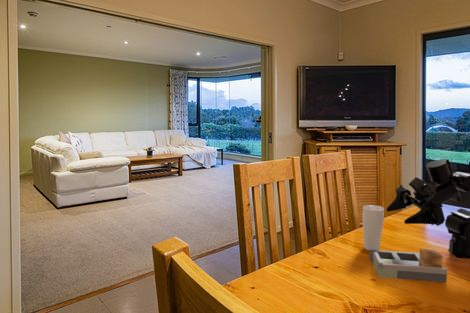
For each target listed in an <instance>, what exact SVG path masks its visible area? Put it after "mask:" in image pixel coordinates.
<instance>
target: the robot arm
mask: <svg viewBox="0 0 470 313" xmlns="http://www.w3.org/2000/svg"><path fill="white" fill-rule="evenodd" d="M425 167H426V169H427V172H428V175H429V178H430V181H431V182H427V181H425V180H424V179H421V178H419V177H417V176H416V177H414V178H413V179H412V180H411V181H410V182H409V183H408V186H409V187H411V188H412V189H413V190H414V191H413V192H412V193H413V195H414V196H412V193H411V190H409V189H408V188H405V187H403V186H399V187H397V188H395V194H396V197H395V198H394V200H392V202H391V203H390V204H389V206H387V207H386V212H388V213H389V212H395V211H399V210H403V209H407V207H410V206H412V205H413V206H415V207H417V208H418V209H419V211H417V212H416V213H414V214H412V215H411V216H409V217H407V218H406V219H404V220H403V222H404V224H405V225H413V224H415V225H416V224H417V225H419V224H420V225H431V226H434V225H435V226H437V227H439V226H441V225H443V224H445V227H446V229H447V233H448V234H450V235H451V238H450V239H449V244H448V245H449V247H448V249H447V250H448V251H449V252H450V254H451V255H453V256H454V258H456V259H466V260H467V259H470V210H467V209H465V208H458V209H457V210H455V211H450V214H448V215H447V216H446V217H445V215H444V211H443V204H444V203H446V202H448V201H450V200H451V201H454V202H457V203H460V202H461V199H462V195H463V194H461V193H460V192H459V191H461V192H466V193H468V194H470V173H469V172H462V171H455V172H453V169H452V167H451V162H450V159H448V158H443V159H437V160H432V161H429V162H427V163H426V164H425ZM434 183H435V184H434ZM445 218H446V219H445Z"/></svg>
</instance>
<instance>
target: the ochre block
mask: <svg viewBox="0 0 470 313" xmlns="http://www.w3.org/2000/svg"><path fill="white" fill-rule="evenodd" d="M419 253H420V257H419V264H420V265H421V266H427V267H440V268H443V255H442V254H441V253H440V252H439V251H438V249H430V248H427V249H426V248H419Z"/></svg>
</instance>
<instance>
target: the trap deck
mask: <svg viewBox="0 0 470 313" xmlns="http://www.w3.org/2000/svg"><path fill="white" fill-rule="evenodd" d="M419 257H420V252H410V251H407V252H406V251H393V250H380V249H379V250H369V251H368V258H369V260H370V262H371V264H372V266H373V268H374V270H376V271H375V272H376V274H377V277H378V278H383V277H384V278H385V279H395V278H396V280H397V279H398V280H408V279H409V280H411V281H420V280H421V281H422V282H435V283H436V282H437V283H445V282H446V283H447V279H448V277H447V276H448V268H447V267H442V268H440V267H427V266H421V265H420V264H419ZM409 280H408V281H409Z"/></svg>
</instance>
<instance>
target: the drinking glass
mask: <svg viewBox="0 0 470 313" xmlns="http://www.w3.org/2000/svg"><path fill="white" fill-rule="evenodd" d="M384 215H385V208H384V207H383V206H380V205H374V204H373V205H372V204H366V205H364V206H363V208H362V229H363V230H362V232H363V234H362V236H363V248H364V250H367V251H368V252H369V250H380V248H381V240H382V232H383V226H384V218H385V216H384Z"/></svg>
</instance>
